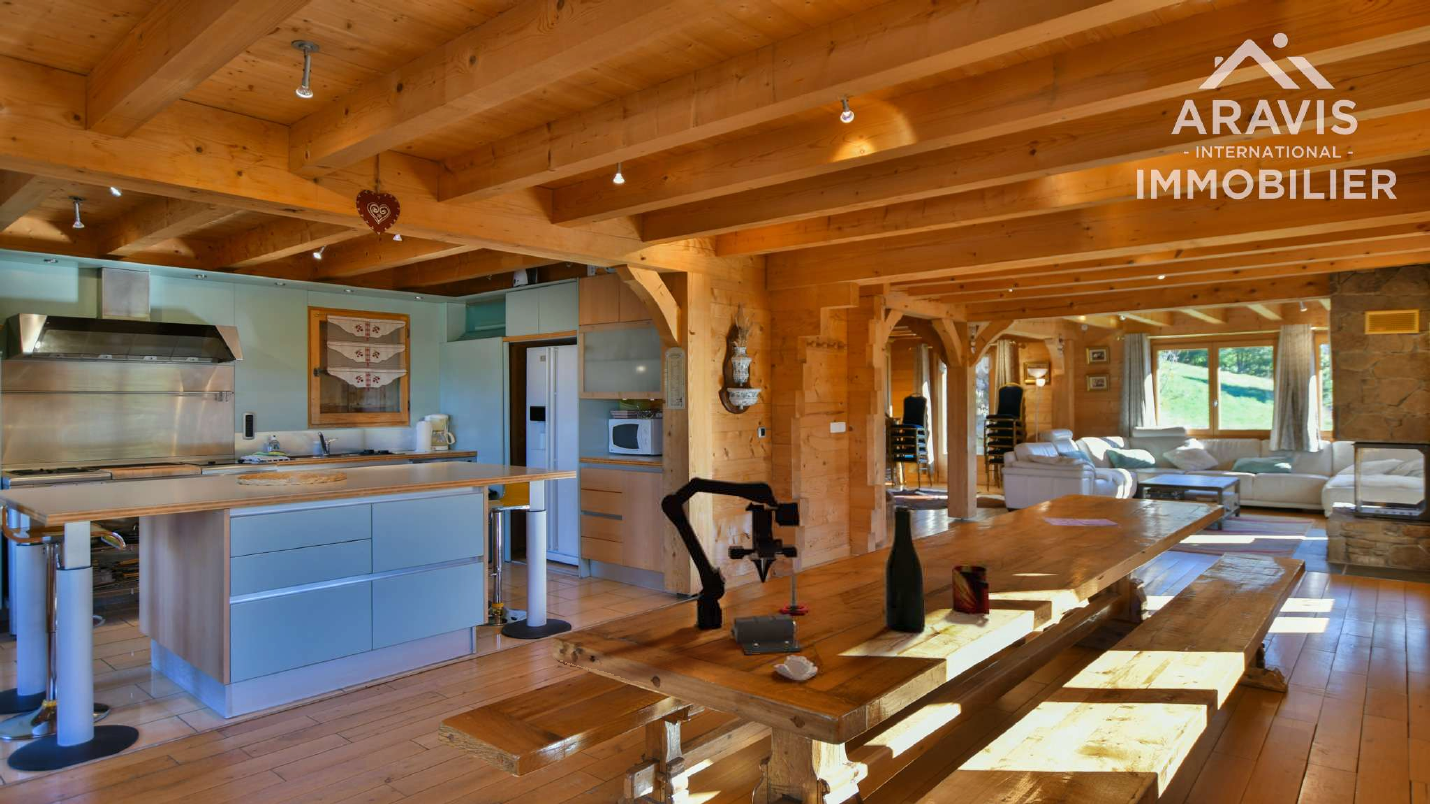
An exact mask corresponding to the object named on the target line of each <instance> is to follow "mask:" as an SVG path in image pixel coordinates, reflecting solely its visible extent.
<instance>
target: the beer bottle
mask: <svg viewBox="0 0 1430 804" xmlns="http://www.w3.org/2000/svg"><path fill="white" fill-rule="evenodd" d="M911 516H912V515H911V511H909V506H908V505H907V506H906V505H898V506H896V507H895V510H894V514H893V517H894V533H893V534H894V535H893V541H892V546H891V547H890V548H891V549H890V552H889V554H888V557H887V560H886V565H885V570H884V571H885V576H884V577H885V579H884V586H885V587H884V589H885V590H884V594H885V595H884V600H885V601H884V603H885V604H884V605H885V607H884V608H885V610H884V613H885V616H884V617H885V626H886V628H888V629H889V630H890V631H893V632H899V633H917V632H920V631H922V630H924V629H925V627H926V608H925V607H926V606H925V589H924V587H925V586H924V573H923V566H922V563H921V559H920V557H919V555H918V553H917V550H916V547H915V544H914V541H913V535H912V525H911V522H912V521H911V518H912V517H911Z"/></svg>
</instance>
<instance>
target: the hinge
mask: <svg viewBox="0 0 1430 804" xmlns="http://www.w3.org/2000/svg"><path fill="white" fill-rule="evenodd" d="M733 621H734V622H733V624H734V625H732V627H731V628H732V632H733V633H734V640H735V642H736V644H737V645H741V647H743V648H742V649H743V651H744V654H745V655H746V656H749V655H748V654H751V655H756V654H755V653H766V654H774V653H773V652H780V653H792V652H793V651H794V652H803V649H802V646H801V645H800V644H799V642H798V641H797V639H795V636H794V635H793V621H794V619H793V617H792V615H790V614H774V615H773V613H772V614H771V615H757V616H756V615H753V616H743V617H740V616H739V617H734V618H733Z"/></svg>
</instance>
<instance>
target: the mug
mask: <svg viewBox="0 0 1430 804" xmlns="http://www.w3.org/2000/svg"><path fill="white" fill-rule="evenodd" d="M951 571H952V572H951V576H952V577H951V578H952V583H951V584H952V609H953V611H954V612H956V613H960V614H965V615H982V614H984V615H990V590H989V582H988V569H987V568H986V567H983V566H980V565H979V566H978V565H966V564H965V565H964V564H963V565H956V566H955V565H954V566H953V567H952V568H951Z"/></svg>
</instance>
